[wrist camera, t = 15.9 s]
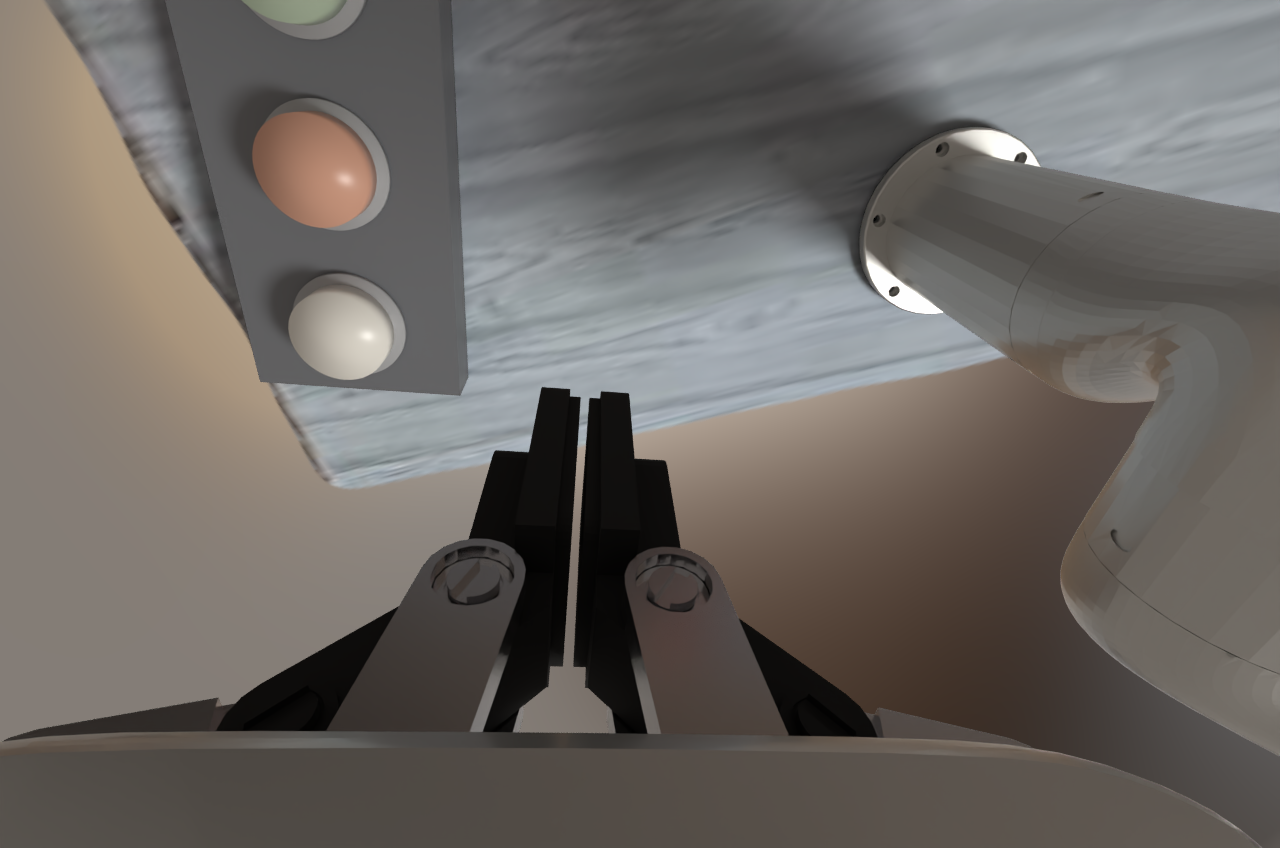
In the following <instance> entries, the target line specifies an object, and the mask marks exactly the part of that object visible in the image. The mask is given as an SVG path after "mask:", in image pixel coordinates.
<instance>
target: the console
mask: <svg viewBox="0 0 1280 848" xmlns="http://www.w3.org/2000/svg"><path fill="white" fill-rule="evenodd" d="M165 3H166V7H167V11H168V15H169V19H170V23H171V27H172V31H173V35H174V39H175V43H176V47H177V51H178V55H179V59H180V63H181V67H182V71H183V75H184V79H185V83H186V87H187V91H188V95H189V99H190V103H191V107H192V111H193V115H194V119H195V123H196V127H197V131H198V135H199V139H200V143H201V147H202V151H203V155H204V159H205V163H206V167H207V171H208V175H209V179H210V183H211V187H212V191H213V195H214V199H215V203H216V207H217V211H218V215H219V219H220V223H221V227H222V231H223V235H224V239H225V243H226V247H227V251H228V255H229V259H230V263H231V267H232V271H233V275H234V279H235V283H236V287H237V291H238V295H239V299H240V303H241V307H242V311H243V315H244V319H245V323H246V327H247V331H248V335H249V339H250V343H251V347H252V351H253V355H254V359H255V362H256V367H257V371H258V375H259V379H260V381H261V382H270V383H284V384H299V385H313V386H328V387H343V388H357V389H372V390H386V391H401V392H415V393H430V394H444V395H459V396H460V395H461V393H462V390H463V388H464V386H465V384H466V381H467V379H468V362H467V340H466V318H465V296H464V275H463V253H462V231H461V209H460V188H459V166H458V144H457V122H456V101H455V79H454V57H453V35H452V14H451V0H347V1H346V3H345V5H344V7H343V8H342V9H341V11H340V12H339V13H338V14H337V15H336V16H335V17H333V18H332V19H330V20H328V21H326V22H324V23H321V24H318V25H310V26H307V25H297V24H291V23H285V22H280V21H276V20H273V19H270V18H267V17H265V16H263V15H261V14H259V13H258V12H256V11H255V10H253V9H251V8H250V7H249V6H248V5H246V4H245V3H244V2H243V1H242V0H165ZM298 111H318V112H323V113H326V114H329V115H331V116H333V117H336V118H338V119H339V120H341V121H343V122H344V123H345V124H347V125H348V126H349V127H351V128H352V129H353V130H354V131H355V132H356V133H357V134H358V135H359V137H360V138H361V139H362V140H363V142H364V143H365V145H366V146H367V148H368V150H369V152H370V154H371V156H372V158H373V161H374V164H375V168H376V174H377V185H376V191H375V195H374V198H373V200H372V202H371V204H370V205H369V206H368V208H367V209H366V210H365V211H364V212H363V213H362V214H360V215H358V216H357V217H355V218H353V219H352V220H350V221H348V222H346V223H345V224H342V225H340V226H336V227H331V228H318V227H312V226H308V225H305V224H303V223H300V222H298V221H296V220H294V219H292V218H290V217H289V216H287V215H286V214H284V213H283V212H282V211H281V210H280V209H278V208H277V207H276V206H275V205H274V204H273V203H272V201H271V200H270V199H269V198H268V197H267V195H266V194H265V192H264V191H263V189H262V187H261V185H260V184H259V182H258V179H257V177H256V174H255V170H254V166H253V160H252V150H253V144H254V140H255V137H256V135H257V133H258V131H259V130H260V128H261V127H262V126H263V125H264V124H265V123H266V122H267V121H268V120H270V119H271V118H273V117H275V116H277V115H280V114H284V113H290V112H298ZM328 285H347V286H351V287H355V288H357V289H360V290H362V291H364V292H366V293H368V294H369V295H371V296H372V297H373V298H375V299H376V300H377V301H378V302H379V303H380V304H381V305H382V306H383V307H384V309H385V310H386V311H387V313H388V315H389V317H390V319H391V321H392V324H393V327H394V336H395V338H394V344H393V347H392V350H391V352H390V353H389V355H388V356H387V357H386V359H385V360H384V361H383V363H382V364H381V365H380V366H379V368H378V369H377V370H376V371H374V372H373V373H372V374H370V375H368V376H366V377H363V378H360V379H354V380H343V379H337V378H332V377H329V376H327V375H324V374H322V373H320V372H318V371H317V370H315V369H314V368H312V367H311V366H309V365H308V364H307V363H306V362H305V361H304V360H303V359H302V358H301V357H300V356H299V354H298V353H297V352H296V350H295V348H294V347H293V344H292V342H291V339H290V336H289V330H288V323H289V318H290V315H291V312H292V311H293V309H294V308H295V306H296V305H297V304H298V303H299V302H300V301H302V300H303V299H304V298H306V297H307V296H308V295H310V294H311V293H312V292H314V291H315V290H317V289H319V288H321V287H324V286H328Z"/></svg>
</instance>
